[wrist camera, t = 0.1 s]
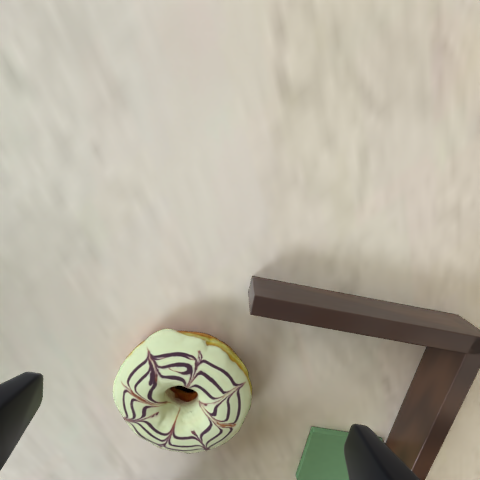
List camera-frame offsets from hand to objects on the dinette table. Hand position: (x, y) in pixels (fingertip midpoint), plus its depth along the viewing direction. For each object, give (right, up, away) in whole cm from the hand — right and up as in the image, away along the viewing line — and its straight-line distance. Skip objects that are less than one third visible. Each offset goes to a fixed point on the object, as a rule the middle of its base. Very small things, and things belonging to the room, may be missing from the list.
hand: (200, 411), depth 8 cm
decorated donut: (-3, -7, +17) cm, 19 cm away
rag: (+11, -16, +20) cm, 27 cm away
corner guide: (+9, -8, +17) cm, 21 cm away
